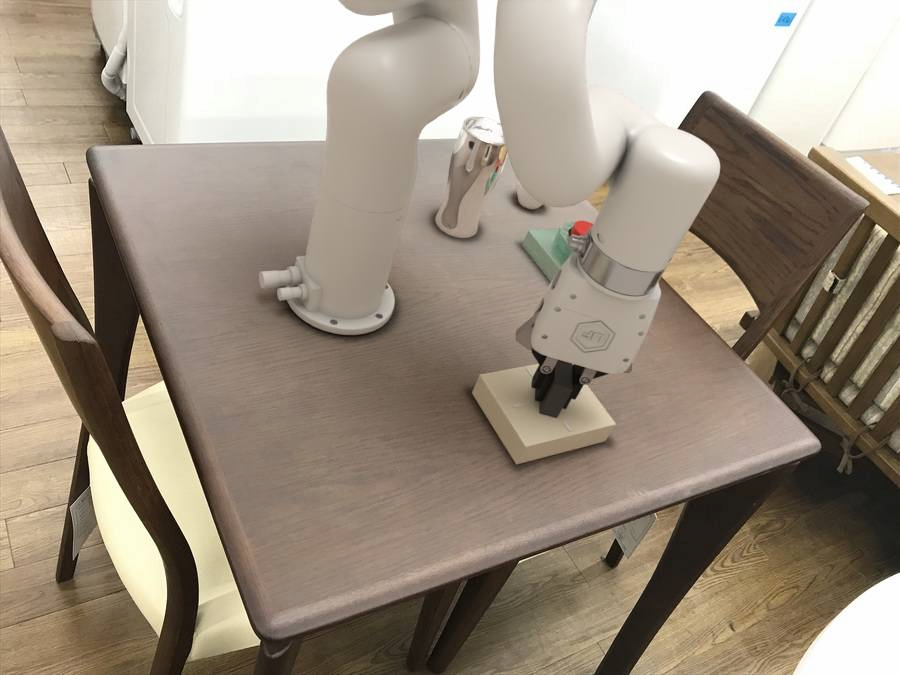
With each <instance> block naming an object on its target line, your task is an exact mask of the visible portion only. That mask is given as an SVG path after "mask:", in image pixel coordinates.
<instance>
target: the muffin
mask: <svg viewBox="0 0 900 675" xmlns="http://www.w3.org/2000/svg"><path fill="white" fill-rule="evenodd" d="M515 187H516V194H517V200H518V203H519V204H520V205H521V206H522V207H523V208H526V209H528V210H537V209H539V208H540V207H541V206H543V205H544V204H542V203H540V202H538V201H536V200H535V199H534V198H533V197H531V196H530V195H529V194H528V193H527V192H526V191H525V190H524V188H523V187H522V185H521V184H520V182H519V181H518V179H517V178H516V185H515Z"/></svg>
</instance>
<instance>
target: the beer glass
mask: <svg viewBox="0 0 900 675" xmlns="http://www.w3.org/2000/svg"><path fill="white" fill-rule="evenodd" d="M462 123H463V124H462V126H461V129H460V130H459V133H458V135H457V138H456V141H455V143H454V146H453V149H452V152H451V153H452V154H451V156H450V161H449V166H448V174H447V183H446V192H445V195H444V199H443V201H442V204H441V206H440V207H439V209H438V211H437V213H436V215H435V218H434V222H435V224H436V226H437V228H439V230H440V231H441V232H443V233H445V234H446V235H448V236H451V237H454V238H458V239H468V238H472V237H474V236H475V235H476V234H477V232H478V230H479V221H480V216H481V213H482V210H483V207H484V206H485V204H486V202H487V201H488V198H489V196H490V195H491V194H492V191H493V190H494V189H495V186H496V185H497V183H498V181H499V179H500V177H501V175H502V173H503V170H504V168H505V165H506V162H507V159H508V153H507V149H506V145H505V140H504V136H503V131H502V127H501V122H499V121H496V120H494V119H491V118H488V117H484V116H469V117H466V118H465V119H464V121H463V122H462Z"/></svg>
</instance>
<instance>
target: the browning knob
mask: <svg viewBox="0 0 900 675" xmlns="http://www.w3.org/2000/svg"><path fill="white" fill-rule="evenodd" d="M572 365H573V364H572V363H568V362H565V361H561V360H558V361H557V363H556V365H555V369H554V379H553V381H552V383H551V385H550V387H549V389H548V391H547V393H546V394H545V396H544V398H543V400H542V401H540V402H539V413H540V414H544V415H547V416H551V417H555V418H557V417H558V415H559V414H560V412H561V410H562V408H563V406H564V405H565V403H566V401H567V399H568V397H569V396H570V394H571V392H572V390H573V373H572Z"/></svg>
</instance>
